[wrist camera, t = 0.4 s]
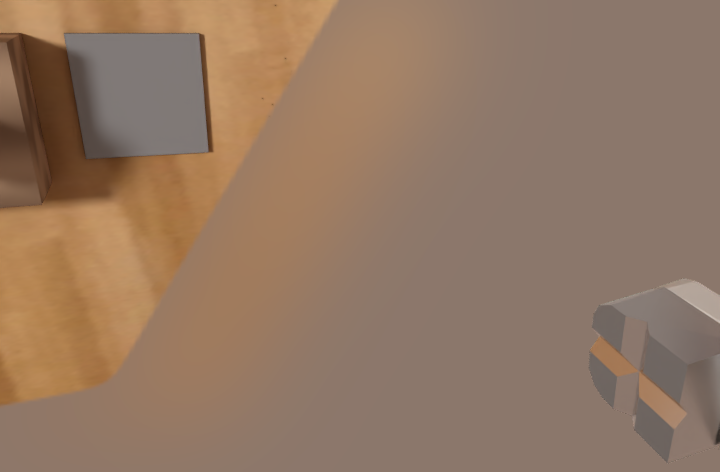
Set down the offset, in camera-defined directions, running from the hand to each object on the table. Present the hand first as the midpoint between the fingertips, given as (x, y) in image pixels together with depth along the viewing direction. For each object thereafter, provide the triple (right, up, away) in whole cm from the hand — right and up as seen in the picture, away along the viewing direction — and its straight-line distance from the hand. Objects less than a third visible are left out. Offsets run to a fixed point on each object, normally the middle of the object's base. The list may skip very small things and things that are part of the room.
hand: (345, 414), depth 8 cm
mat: (-18, +14, +40) cm, 46 cm away
